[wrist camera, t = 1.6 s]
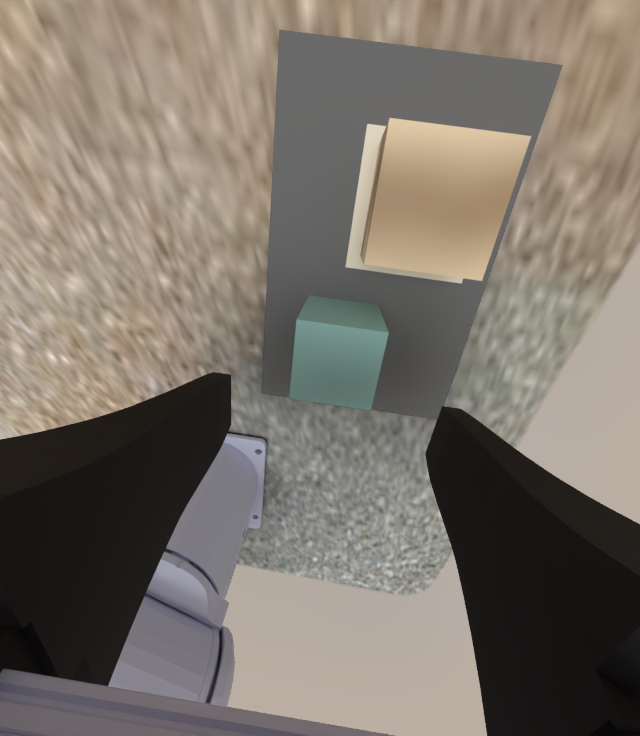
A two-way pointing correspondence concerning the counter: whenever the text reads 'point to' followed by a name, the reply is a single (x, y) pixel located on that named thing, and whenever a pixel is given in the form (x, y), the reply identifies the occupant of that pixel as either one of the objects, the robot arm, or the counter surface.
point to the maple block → (439, 197)
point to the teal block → (338, 352)
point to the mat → (353, 190)
